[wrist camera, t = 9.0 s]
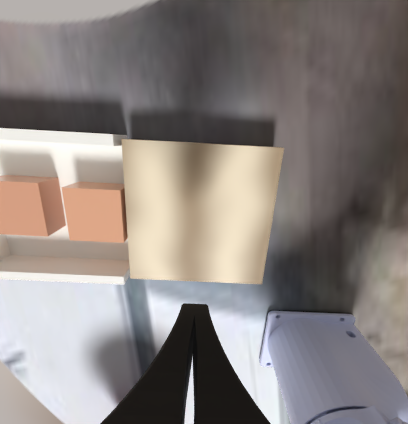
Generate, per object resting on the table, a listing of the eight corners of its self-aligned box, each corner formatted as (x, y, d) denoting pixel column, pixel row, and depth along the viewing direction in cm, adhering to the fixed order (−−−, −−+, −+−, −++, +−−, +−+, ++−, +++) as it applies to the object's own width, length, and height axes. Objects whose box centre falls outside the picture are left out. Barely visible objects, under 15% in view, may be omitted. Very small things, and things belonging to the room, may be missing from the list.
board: (273, 146, 19) (283, 147, 16) (255, 268, 22) (261, 284, 20) (131, 139, 18) (121, 138, 16) (138, 263, 22) (130, 278, 20)
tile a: (130, 184, 19) (120, 190, 17) (133, 230, 21) (123, 242, 18) (79, 181, 19) (61, 187, 17) (85, 228, 21) (69, 240, 18)
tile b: (58, 177, 19) (37, 182, 17) (66, 225, 20) (48, 236, 18) (6, 174, 19) (-22, 179, 17) (17, 223, 20) (-8, 234, 18)
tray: (127, 135, 18) (112, 134, 15) (134, 265, 22) (124, 284, 19) (-29, 126, 18) (-73, 124, 15) (7, 260, 22) (-23, 278, 19)
